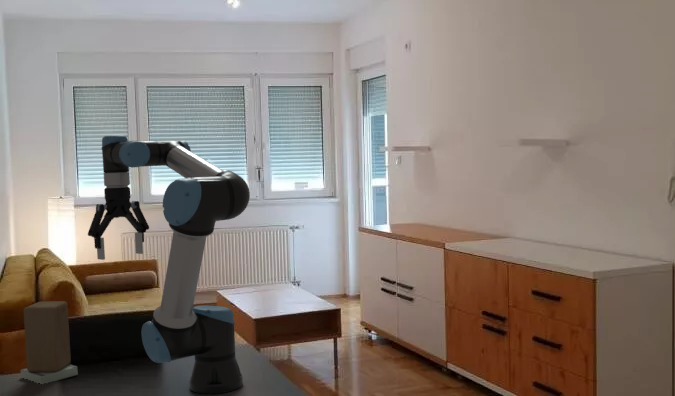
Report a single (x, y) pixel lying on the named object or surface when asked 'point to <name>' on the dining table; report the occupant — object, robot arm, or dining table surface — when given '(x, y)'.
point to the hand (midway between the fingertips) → (120, 256)
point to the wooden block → (47, 336)
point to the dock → (50, 374)
